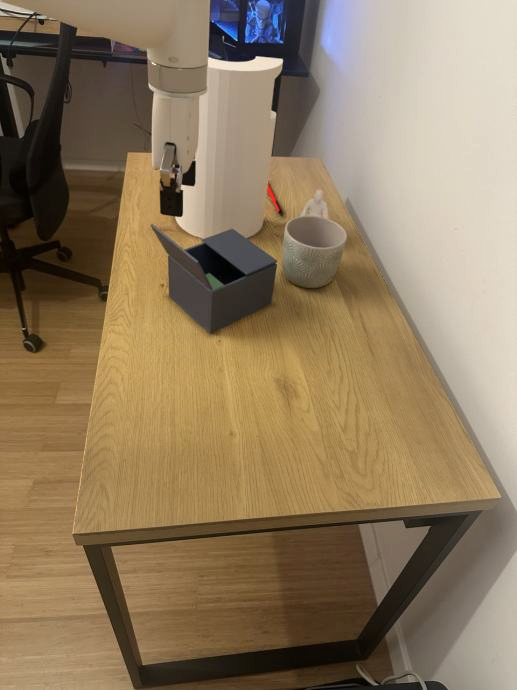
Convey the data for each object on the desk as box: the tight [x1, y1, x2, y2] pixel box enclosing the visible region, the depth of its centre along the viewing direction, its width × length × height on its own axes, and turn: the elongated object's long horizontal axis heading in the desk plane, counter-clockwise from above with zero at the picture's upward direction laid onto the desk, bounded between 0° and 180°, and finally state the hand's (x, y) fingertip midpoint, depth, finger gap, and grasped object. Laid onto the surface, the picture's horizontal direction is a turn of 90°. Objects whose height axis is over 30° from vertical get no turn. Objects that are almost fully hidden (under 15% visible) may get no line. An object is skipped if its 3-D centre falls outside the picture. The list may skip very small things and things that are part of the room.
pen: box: [267, 183, 283, 217], centre depth 129 cm, size 1×19×1 cm, turn 12°
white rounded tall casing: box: [174, 55, 284, 239], centre depth 104 cm, size 35×11×21 cm
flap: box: [150, 223, 213, 290], centre depth 83 cm, size 7×13×1 cm
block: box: [206, 273, 224, 290], centre depth 93 cm, size 5×5×5 cm
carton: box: [167, 229, 278, 335], centre depth 94 cm, size 15×13×10 cm
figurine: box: [299, 188, 329, 219], centre depth 111 cm, size 8×8×12 cm
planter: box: [281, 214, 348, 289], centre depth 102 cm, size 12×12×11 cm
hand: (178, 199), depth 76 cm, fingers open, 9 cm apart
